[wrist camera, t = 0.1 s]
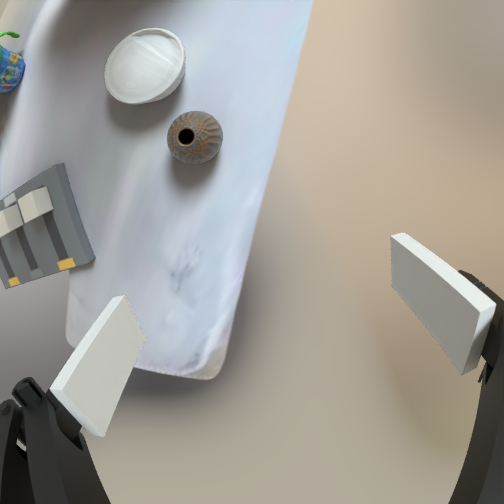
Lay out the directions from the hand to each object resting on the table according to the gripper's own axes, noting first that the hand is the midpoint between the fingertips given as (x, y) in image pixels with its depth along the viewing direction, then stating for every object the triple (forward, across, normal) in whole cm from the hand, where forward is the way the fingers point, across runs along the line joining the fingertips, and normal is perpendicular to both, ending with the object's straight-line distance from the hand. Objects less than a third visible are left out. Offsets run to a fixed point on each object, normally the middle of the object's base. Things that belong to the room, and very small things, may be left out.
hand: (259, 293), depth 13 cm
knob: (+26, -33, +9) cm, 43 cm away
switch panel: (+28, -42, +5) cm, 51 cm away
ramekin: (+28, -9, +21) cm, 37 cm away
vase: (+28, -5, +9) cm, 30 cm away
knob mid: (+26, -42, +9) cm, 50 cm away
